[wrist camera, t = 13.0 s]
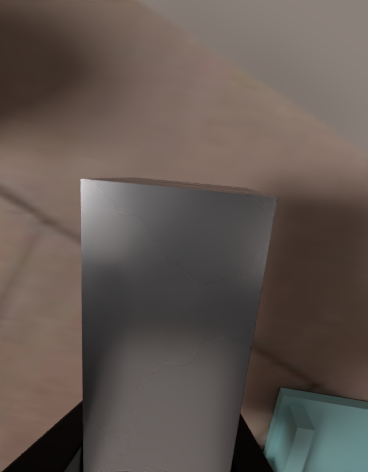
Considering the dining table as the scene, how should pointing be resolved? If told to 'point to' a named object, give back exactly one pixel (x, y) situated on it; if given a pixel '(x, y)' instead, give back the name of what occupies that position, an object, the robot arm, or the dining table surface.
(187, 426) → the grey long bar
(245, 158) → the dining table surface
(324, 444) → the cradle
